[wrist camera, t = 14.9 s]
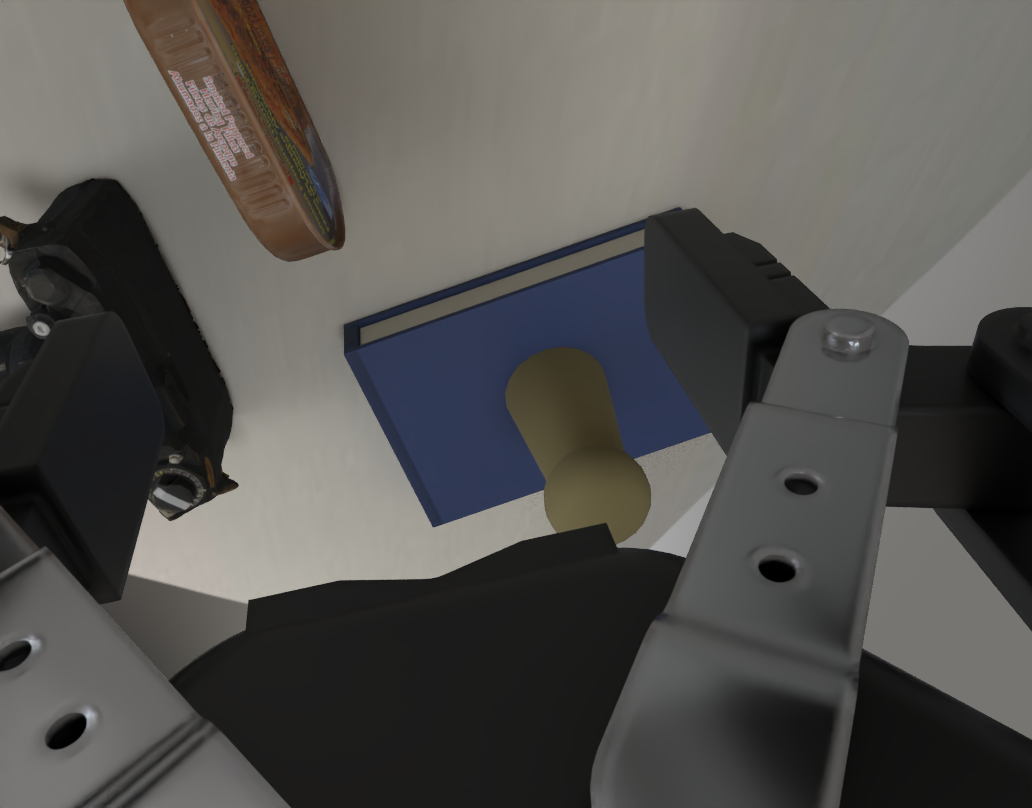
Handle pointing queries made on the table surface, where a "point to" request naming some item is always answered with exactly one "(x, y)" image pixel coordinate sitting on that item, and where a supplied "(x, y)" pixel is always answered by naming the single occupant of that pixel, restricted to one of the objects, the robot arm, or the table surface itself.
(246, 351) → the table surface
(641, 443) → the book
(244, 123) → the tin
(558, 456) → the cork
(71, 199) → the film camera
